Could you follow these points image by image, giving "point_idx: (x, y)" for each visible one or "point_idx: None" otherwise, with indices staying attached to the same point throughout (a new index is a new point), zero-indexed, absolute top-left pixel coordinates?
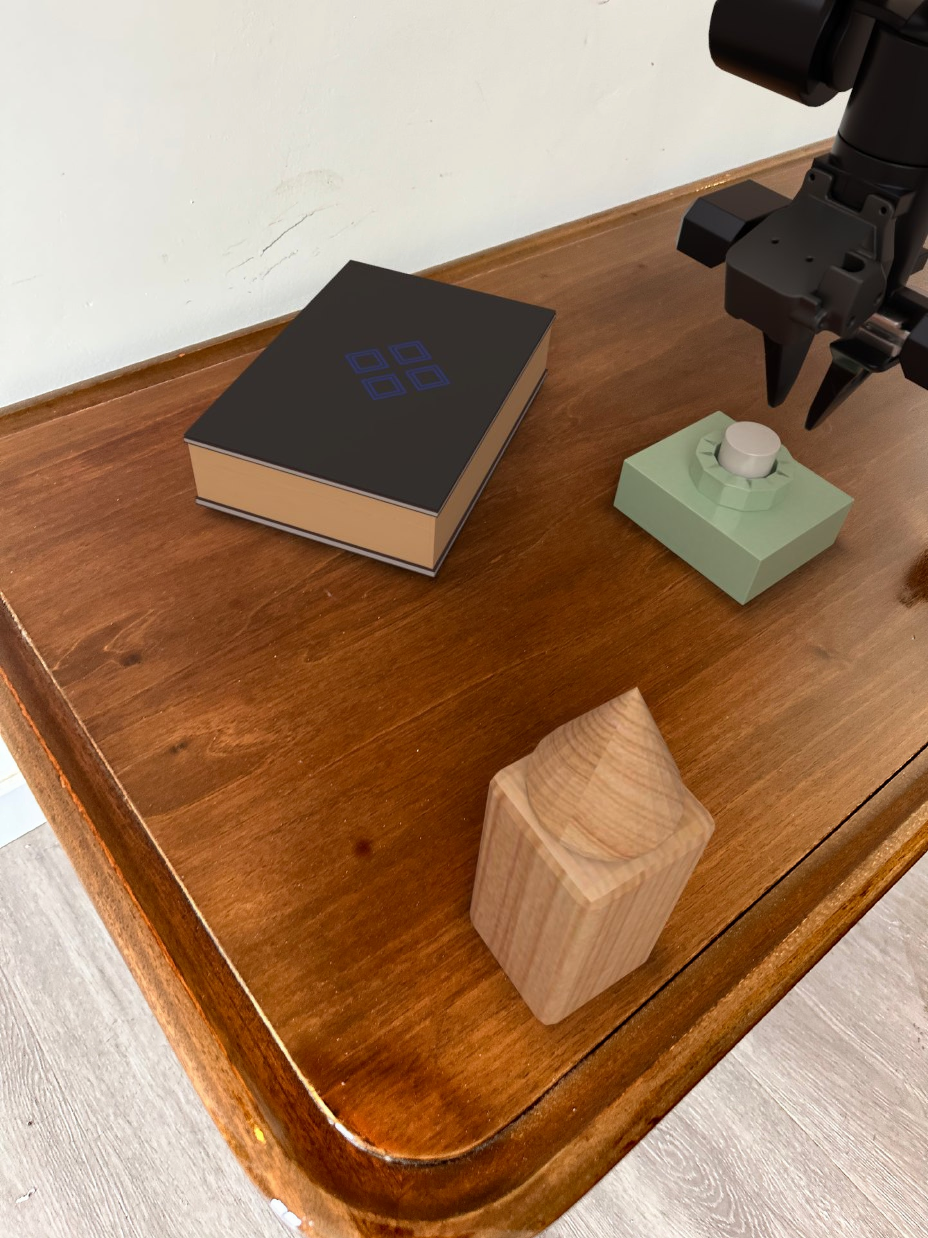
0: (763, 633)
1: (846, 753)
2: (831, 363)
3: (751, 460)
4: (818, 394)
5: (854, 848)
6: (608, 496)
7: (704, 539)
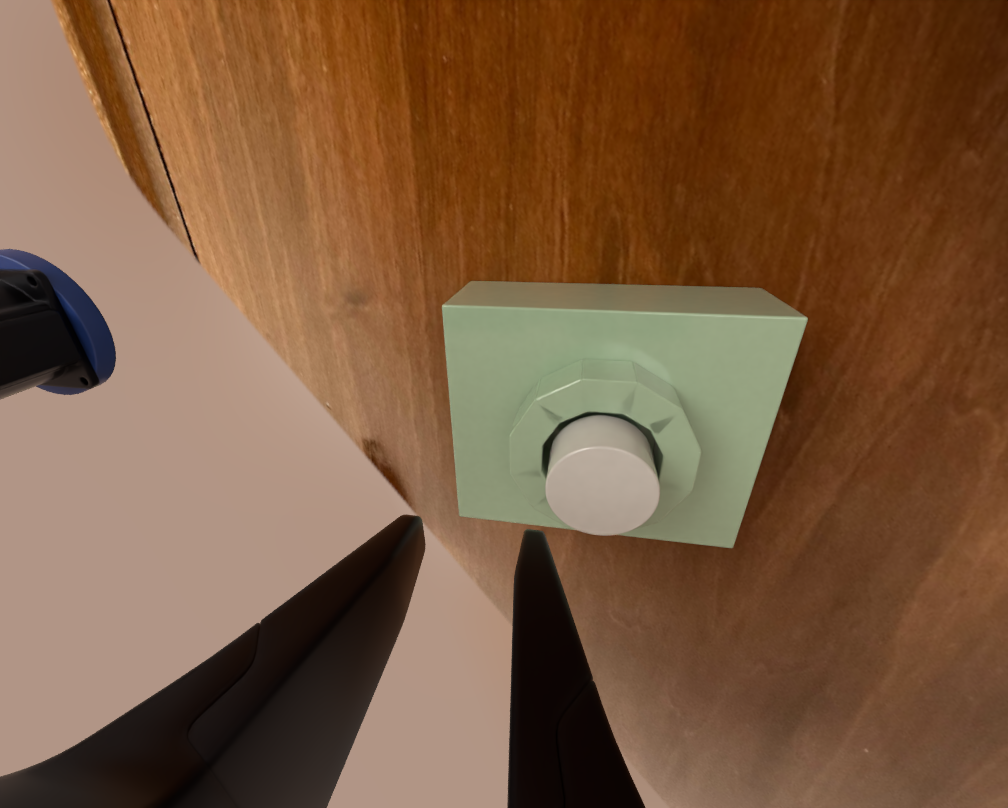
0: (417, 262)
1: (219, 179)
2: (201, 765)
3: (567, 446)
4: (338, 607)
5: (96, 47)
6: (783, 300)
7: (561, 298)
